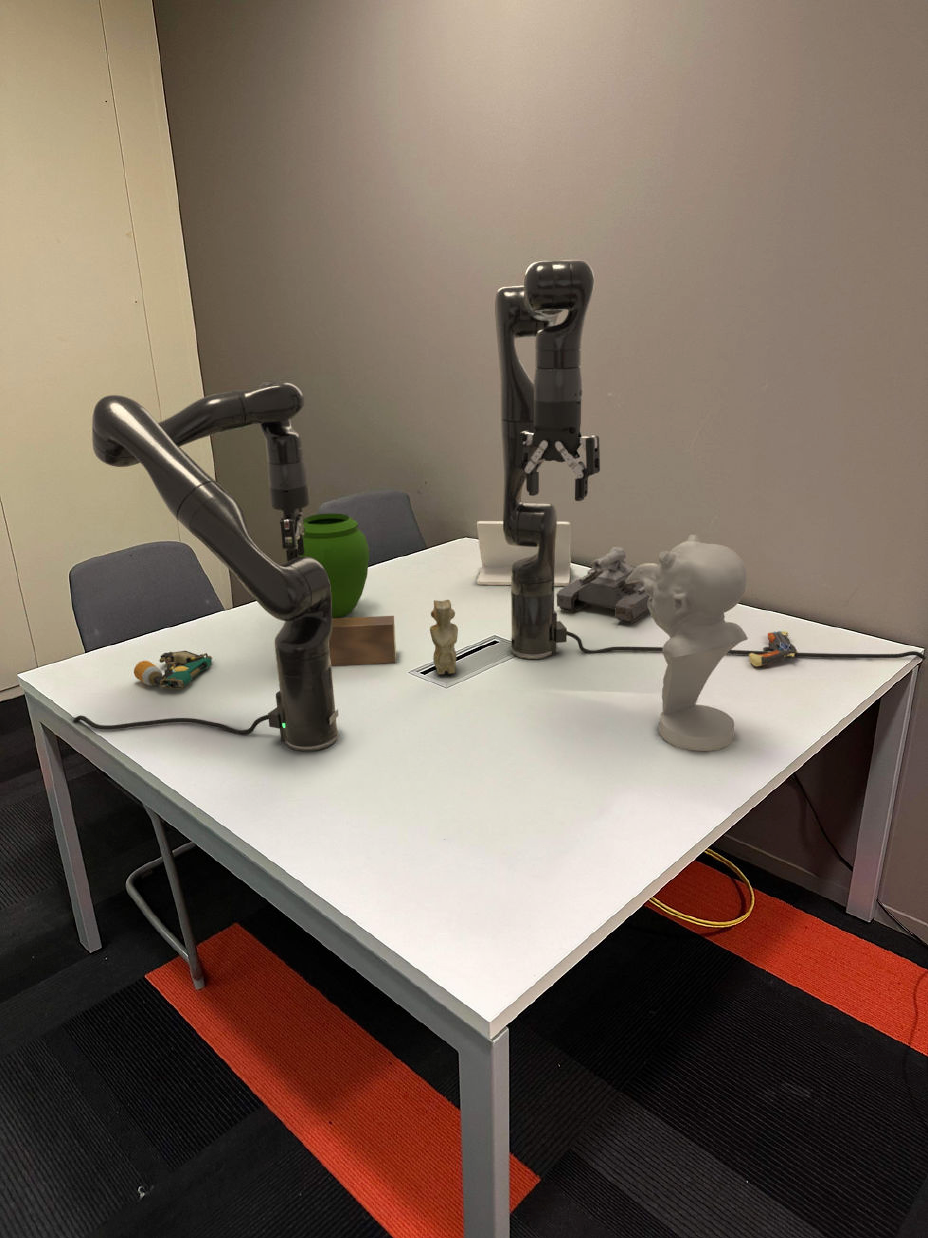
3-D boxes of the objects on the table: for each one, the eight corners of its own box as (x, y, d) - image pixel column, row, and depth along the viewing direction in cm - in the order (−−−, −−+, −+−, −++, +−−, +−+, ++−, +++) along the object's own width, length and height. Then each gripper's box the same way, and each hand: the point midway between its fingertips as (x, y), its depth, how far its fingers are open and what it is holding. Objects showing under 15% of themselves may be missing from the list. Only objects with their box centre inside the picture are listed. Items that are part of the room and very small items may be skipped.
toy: (603, 584, 229) (605, 530, 224) (673, 597, 218) (677, 540, 213) (555, 612, 210) (556, 553, 205) (630, 627, 199) (633, 566, 194)
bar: (396, 653, 189) (393, 615, 186) (395, 662, 184) (393, 624, 181) (291, 658, 188) (287, 620, 185) (287, 667, 183) (283, 629, 180)
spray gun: (177, 659, 191) (231, 671, 185) (120, 684, 176) (176, 698, 171) (176, 641, 190) (230, 653, 184) (118, 665, 175) (174, 678, 169)
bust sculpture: (666, 688, 168) (677, 514, 156) (759, 738, 148) (779, 544, 136) (600, 707, 161) (606, 527, 149) (688, 763, 141) (703, 560, 129)
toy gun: (751, 657, 175) (803, 654, 173) (740, 630, 193) (787, 626, 191) (752, 670, 176) (803, 667, 174) (741, 641, 194) (787, 638, 192)
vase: (389, 608, 216) (383, 514, 208) (339, 633, 201) (330, 533, 192) (330, 596, 226) (322, 506, 218) (278, 619, 211) (267, 523, 202)
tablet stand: (569, 585, 229) (570, 524, 223) (476, 584, 232) (475, 523, 226) (570, 566, 246) (571, 508, 240) (484, 564, 249) (483, 507, 243)
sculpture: (458, 662, 183) (456, 596, 178) (460, 676, 176) (457, 608, 171) (431, 663, 183) (428, 597, 177) (431, 677, 176) (428, 609, 171)
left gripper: (275, 477, 179) (283, 552, 185) (263, 491, 166) (272, 571, 171) (311, 476, 179) (318, 550, 185) (302, 490, 166) (310, 570, 171)
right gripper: (506, 397, 136) (507, 497, 142) (588, 401, 129) (585, 506, 134) (530, 392, 142) (530, 489, 148) (609, 395, 134) (605, 497, 140)
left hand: (296, 560), depth 178 cm, fingers open, 8 cm apart
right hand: (556, 497), depth 141 cm, fingers open, 8 cm apart
